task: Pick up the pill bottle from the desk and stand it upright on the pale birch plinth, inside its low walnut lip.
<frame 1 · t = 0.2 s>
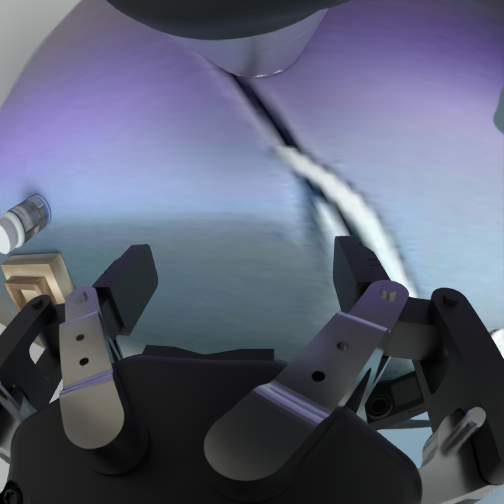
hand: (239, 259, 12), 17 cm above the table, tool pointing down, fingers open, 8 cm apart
wooden base: (48, 290, 38), on the table
digital camera: (390, 384, 43), on the table
pill bottle: (40, 210, 31), on the table
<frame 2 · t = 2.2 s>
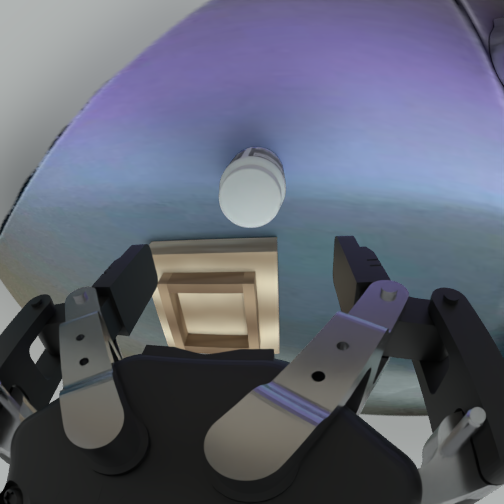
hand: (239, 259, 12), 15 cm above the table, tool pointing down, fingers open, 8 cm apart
wooden base: (219, 292, 32), on the table
pill bottle: (257, 171, 26), on the table
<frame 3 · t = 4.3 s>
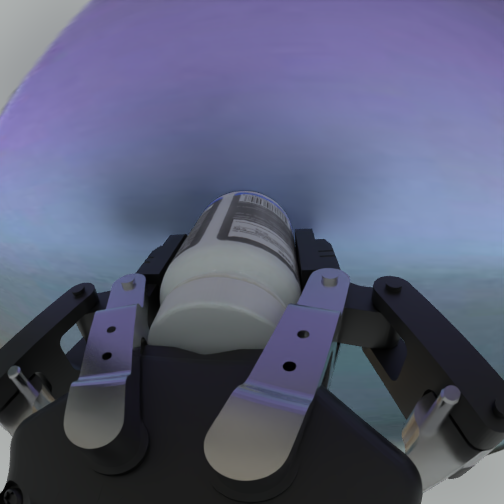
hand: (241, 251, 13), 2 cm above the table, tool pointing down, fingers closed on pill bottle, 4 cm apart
pill bottle: (246, 233, 15), on the table, touching gripper
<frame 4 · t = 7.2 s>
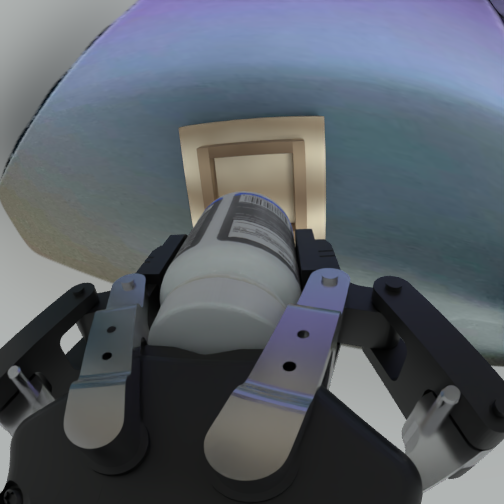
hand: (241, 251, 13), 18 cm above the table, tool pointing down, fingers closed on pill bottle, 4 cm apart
wooden base: (257, 181, 29), on the table
pill bottle: (246, 233, 15), point 16 cm above the table, touching gripper
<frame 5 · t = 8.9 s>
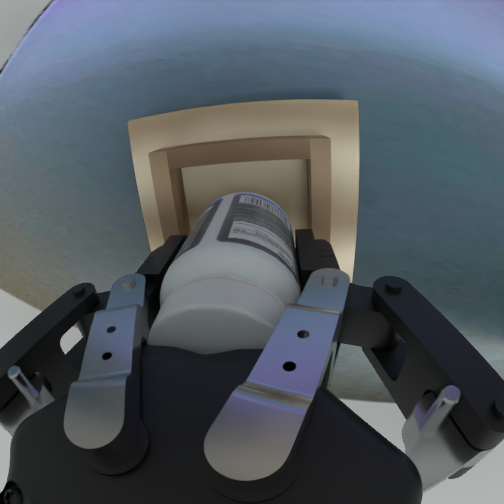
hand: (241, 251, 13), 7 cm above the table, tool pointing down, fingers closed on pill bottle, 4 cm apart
wooden base: (250, 200, 20), on the table
pill bottle: (246, 233, 15), point 5 cm above the table, touching gripper
when the fingers open (5 cm above the table, at t = 10.2 s): pill bottle stays where it is, resting on wooden base.
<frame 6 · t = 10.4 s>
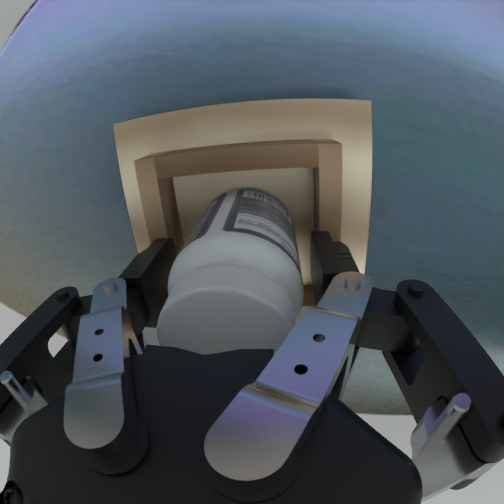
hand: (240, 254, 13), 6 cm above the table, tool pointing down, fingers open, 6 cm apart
wooden base: (250, 211, 18), on the table
pill bottle: (249, 227, 15), point 3 cm above the table, touching wooden base
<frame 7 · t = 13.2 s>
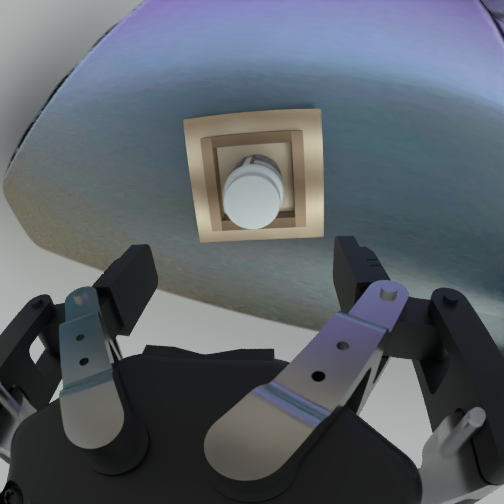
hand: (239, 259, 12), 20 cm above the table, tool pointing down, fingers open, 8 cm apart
wooden base: (257, 172, 30), on the table
pill bottle: (257, 177, 28), point 3 cm above the table, touching wooden base
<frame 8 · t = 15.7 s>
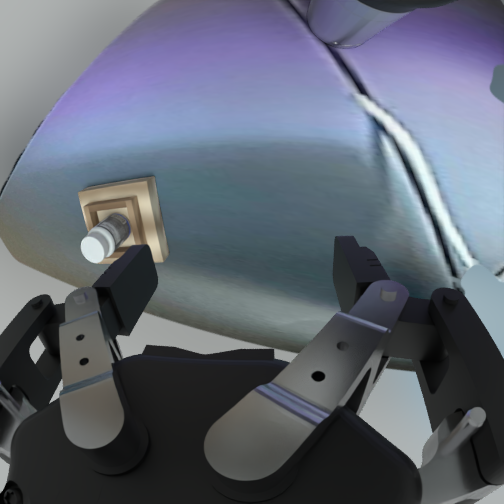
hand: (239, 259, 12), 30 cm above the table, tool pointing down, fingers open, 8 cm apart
wooden base: (126, 219, 45), on the table
pill bottle: (119, 225, 42), point 3 cm above the table, touching wooden base
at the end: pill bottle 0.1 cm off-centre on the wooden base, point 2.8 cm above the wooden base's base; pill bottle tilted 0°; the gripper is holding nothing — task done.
